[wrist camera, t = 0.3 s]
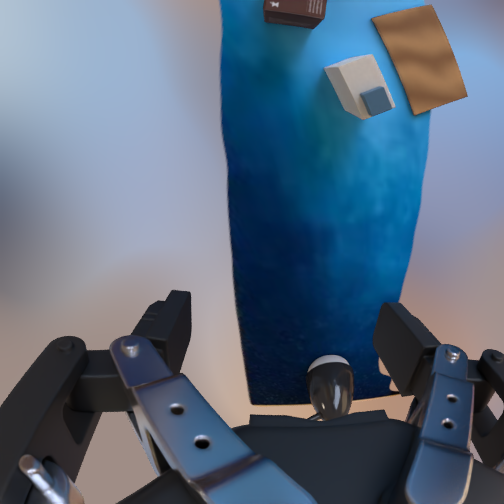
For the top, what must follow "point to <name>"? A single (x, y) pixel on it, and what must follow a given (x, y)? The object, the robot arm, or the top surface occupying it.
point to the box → (295, 12)
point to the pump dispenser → (330, 387)
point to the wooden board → (421, 57)
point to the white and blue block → (360, 86)
